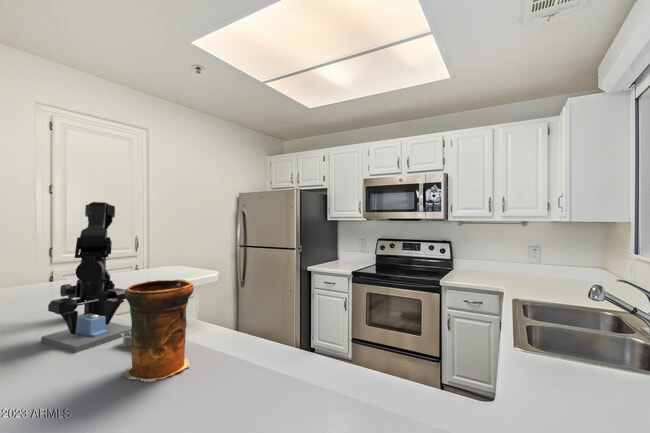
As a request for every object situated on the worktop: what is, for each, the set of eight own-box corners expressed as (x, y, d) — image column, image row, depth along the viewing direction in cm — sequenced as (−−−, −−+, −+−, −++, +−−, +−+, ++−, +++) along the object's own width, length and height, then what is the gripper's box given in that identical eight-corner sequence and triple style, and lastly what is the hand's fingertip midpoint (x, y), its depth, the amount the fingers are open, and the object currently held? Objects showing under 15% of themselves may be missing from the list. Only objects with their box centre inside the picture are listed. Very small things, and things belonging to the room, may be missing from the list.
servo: (85, 332, 94) (86, 310, 94) (109, 338, 90) (110, 315, 90) (70, 336, 90) (71, 314, 91) (94, 343, 86) (95, 319, 86)
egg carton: (169, 343, 88) (169, 328, 88) (145, 353, 81) (146, 337, 81) (142, 337, 92) (142, 323, 92) (117, 346, 85) (118, 331, 85)
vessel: (155, 390, 63) (157, 292, 64) (107, 378, 68) (109, 287, 69) (205, 361, 77) (206, 281, 77) (162, 353, 82) (163, 277, 82)
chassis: (101, 324, 101) (101, 320, 101) (134, 332, 95) (135, 327, 95) (41, 342, 86) (41, 336, 86) (76, 352, 80) (76, 346, 80)
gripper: (107, 269, 102) (105, 316, 102) (37, 278, 85) (35, 335, 85) (130, 272, 98) (128, 321, 98) (61, 282, 81) (59, 342, 80)
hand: (90, 329), depth 90 cm, fingers open, 9 cm apart
